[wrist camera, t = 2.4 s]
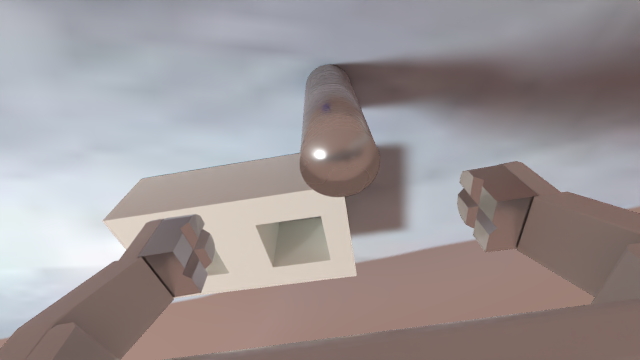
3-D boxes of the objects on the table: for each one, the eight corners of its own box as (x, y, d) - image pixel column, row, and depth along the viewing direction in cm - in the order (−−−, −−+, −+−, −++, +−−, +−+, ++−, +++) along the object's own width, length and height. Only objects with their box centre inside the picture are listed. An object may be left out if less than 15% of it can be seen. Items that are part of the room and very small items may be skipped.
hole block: (337, 147, 21) (342, 185, 17) (349, 230, 26) (356, 275, 22) (141, 178, 22) (102, 221, 18) (189, 252, 27) (167, 299, 23)
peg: (347, 60, 18) (377, 121, 9) (352, 105, 19) (381, 191, 11) (301, 69, 18) (291, 136, 10) (310, 113, 20) (308, 202, 11)
